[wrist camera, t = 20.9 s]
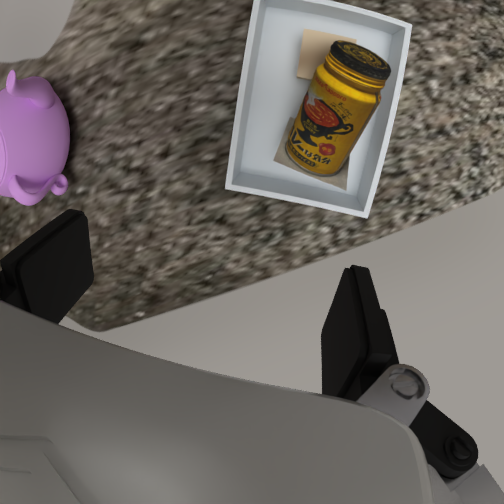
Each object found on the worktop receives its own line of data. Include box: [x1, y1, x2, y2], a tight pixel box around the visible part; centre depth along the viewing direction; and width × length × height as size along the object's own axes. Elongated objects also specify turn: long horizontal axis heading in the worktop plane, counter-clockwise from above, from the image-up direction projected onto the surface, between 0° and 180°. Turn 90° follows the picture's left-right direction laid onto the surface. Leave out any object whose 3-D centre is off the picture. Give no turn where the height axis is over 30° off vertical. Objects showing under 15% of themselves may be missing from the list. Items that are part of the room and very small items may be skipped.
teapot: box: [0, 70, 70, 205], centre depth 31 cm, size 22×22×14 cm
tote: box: [225, 0, 412, 218], centre depth 30 cm, size 21×15×6 cm
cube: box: [297, 29, 357, 81], centre depth 28 cm, size 5×5×5 cm
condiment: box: [273, 40, 391, 191], centre depth 26 cm, size 7×8×12 cm
